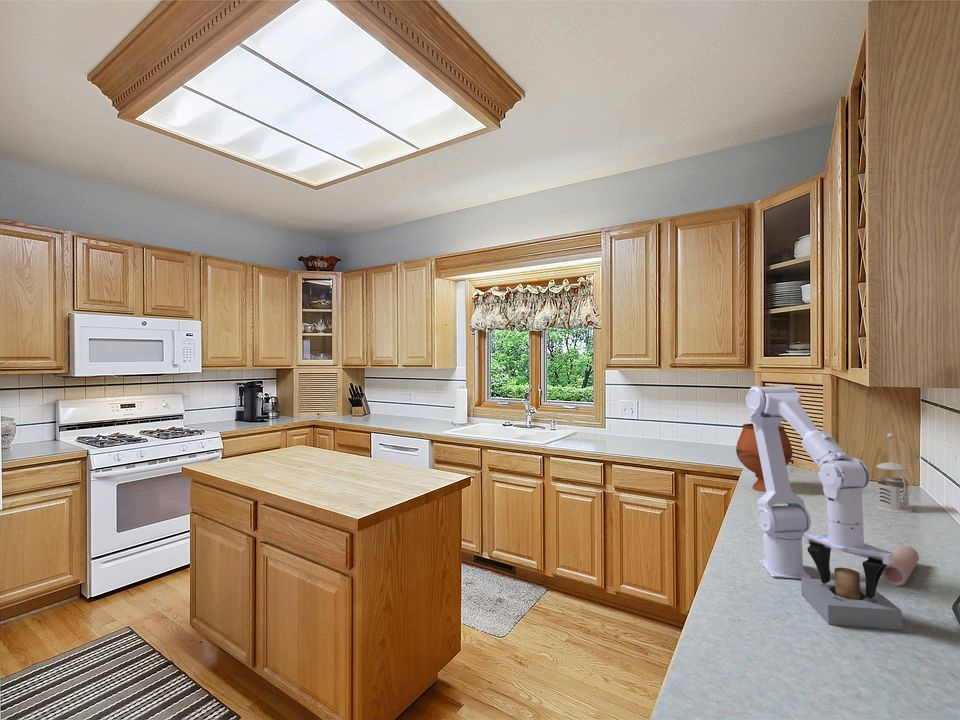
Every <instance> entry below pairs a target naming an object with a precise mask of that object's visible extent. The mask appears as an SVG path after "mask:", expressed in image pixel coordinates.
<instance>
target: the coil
mask: <svg viewBox="0 0 960 720" xmlns="http://www.w3.org/2000/svg"><path fill="white" fill-rule="evenodd" d="M891 552H892V553H893V563H892V564H890V565H887V567H886V568H885V570H884V571H883V573H882V575H881V577H882V579H884V581H886V582H887V585H889V586H893V587H902V586H904V585H906V583H907V582H908V580H909V578H910V576H911V575H912V572H913V571H914V570H915V567H916V565H917V564H918V563H919V560H920V556H919V554H918V552H917V550H916V549H914V548H913V547H911V546H910V545H907V544H899V545H897V546H896V547H895V548H893V551H891Z"/></svg>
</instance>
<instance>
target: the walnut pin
mask: <svg viewBox="0 0 960 720" xmlns="http://www.w3.org/2000/svg"><path fill="white" fill-rule="evenodd" d="M860 579H861V576H860V572H859V571H857V570H854V569H852V568H848V567H835V568H834V580H835V595H837V596H840V597H843V598H846V599H852V600H861V598H860V582H861V580H860Z"/></svg>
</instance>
